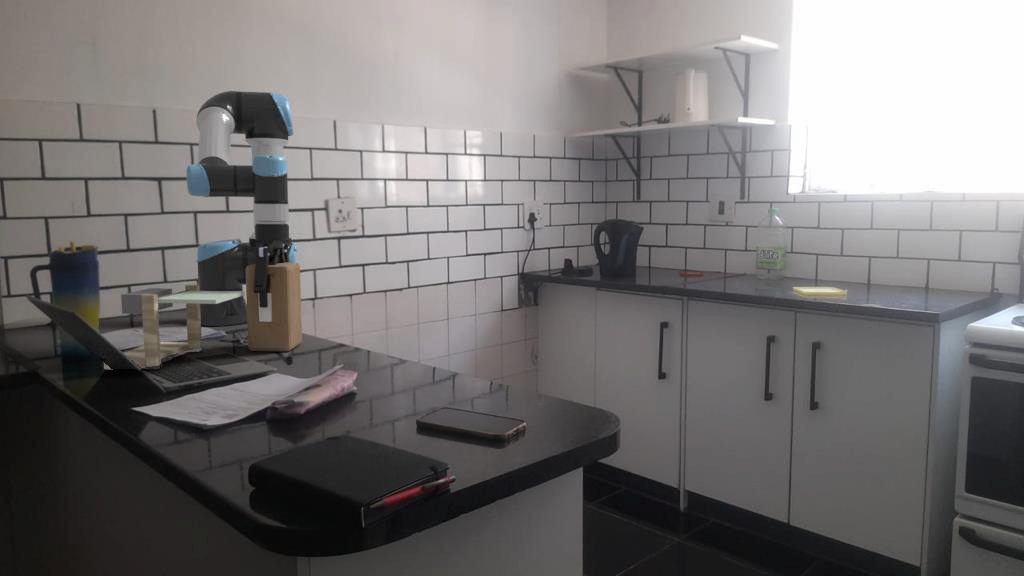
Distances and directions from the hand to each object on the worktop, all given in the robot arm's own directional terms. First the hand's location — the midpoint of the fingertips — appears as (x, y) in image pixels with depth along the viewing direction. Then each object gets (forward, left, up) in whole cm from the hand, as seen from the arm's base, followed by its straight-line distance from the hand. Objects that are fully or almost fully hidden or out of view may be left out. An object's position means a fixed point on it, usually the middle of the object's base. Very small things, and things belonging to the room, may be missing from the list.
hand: (274, 317), depth 172 cm
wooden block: (0, 0, -7) cm, 7 cm away
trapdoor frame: (+15, -21, -7) cm, 27 cm away
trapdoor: (+15, -14, +4) cm, 21 cm away
